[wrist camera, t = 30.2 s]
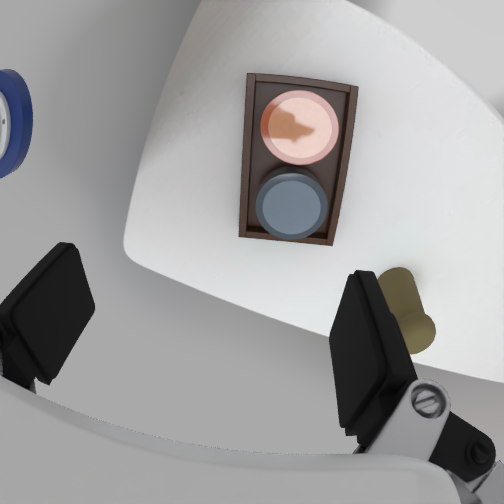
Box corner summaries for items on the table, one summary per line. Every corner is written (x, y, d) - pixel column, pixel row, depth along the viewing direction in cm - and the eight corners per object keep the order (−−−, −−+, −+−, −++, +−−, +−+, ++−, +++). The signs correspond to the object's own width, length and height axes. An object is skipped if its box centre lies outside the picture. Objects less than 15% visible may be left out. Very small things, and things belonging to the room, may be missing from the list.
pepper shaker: (420, 281, 36) (450, 337, 27) (390, 308, 39) (411, 367, 29) (397, 259, 35) (427, 318, 25) (365, 289, 37) (384, 351, 28)
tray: (240, 229, 34) (238, 237, 33) (249, 74, 25) (246, 72, 23) (330, 237, 34) (332, 246, 32) (353, 86, 25) (358, 86, 23)
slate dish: (256, 220, 33) (253, 237, 30) (259, 160, 29) (257, 170, 26) (317, 226, 33) (321, 243, 29) (326, 167, 29) (332, 177, 26)
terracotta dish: (260, 152, 29) (257, 161, 26) (264, 87, 25) (262, 86, 22) (327, 160, 29) (333, 169, 25) (335, 95, 25) (343, 96, 22)
